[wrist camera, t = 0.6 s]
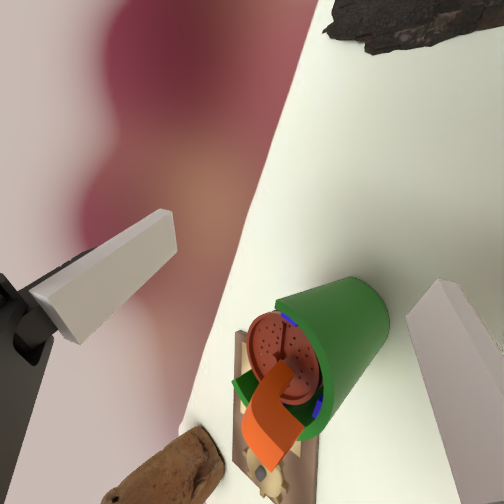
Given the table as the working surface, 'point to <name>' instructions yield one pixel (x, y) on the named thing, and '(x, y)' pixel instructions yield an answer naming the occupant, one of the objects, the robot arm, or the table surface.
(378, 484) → the table surface
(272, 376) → the motor
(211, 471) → the block
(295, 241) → the table surface
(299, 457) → the mounting board
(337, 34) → the wood
